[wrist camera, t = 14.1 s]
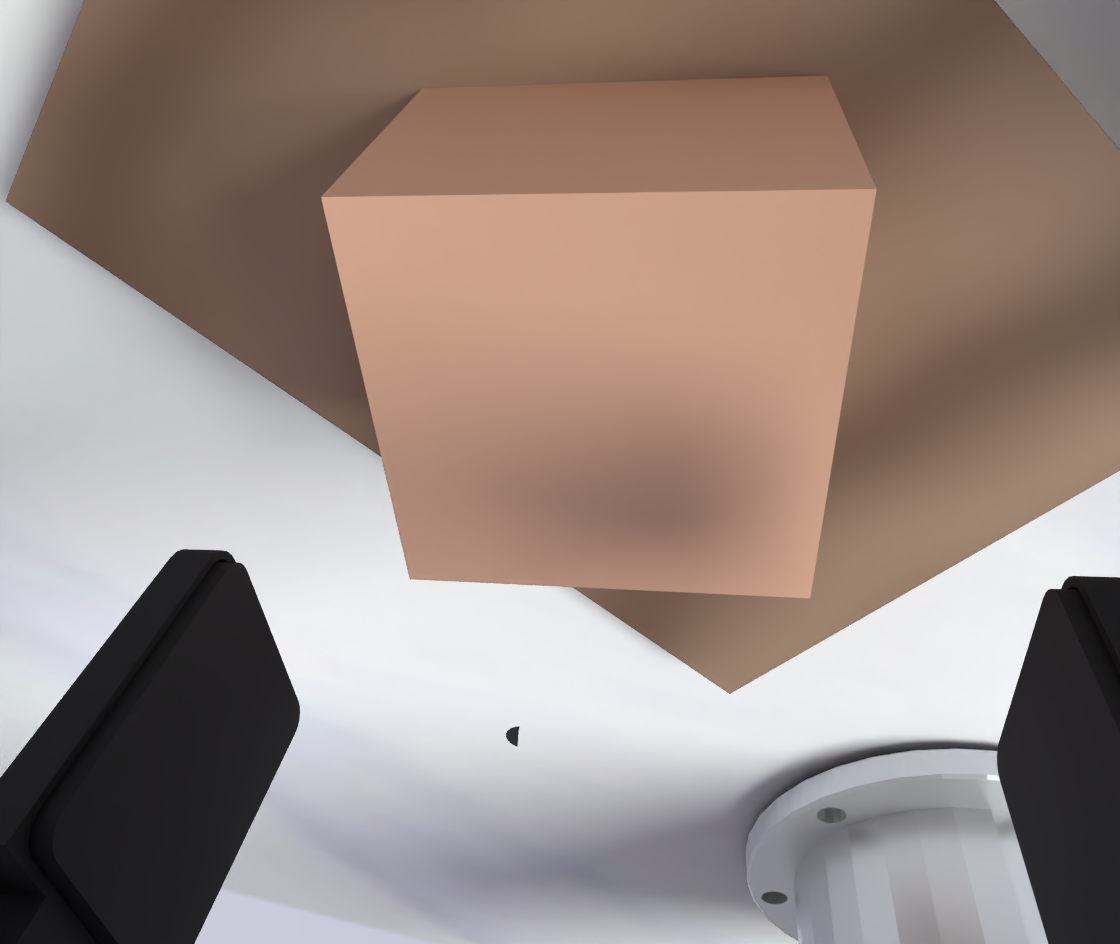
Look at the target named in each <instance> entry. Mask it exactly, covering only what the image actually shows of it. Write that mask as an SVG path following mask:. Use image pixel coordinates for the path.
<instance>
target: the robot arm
mask: <svg viewBox="0 0 1120 944" xmlns="http://www.w3.org/2000/svg"><path fill="white" fill-rule="evenodd" d="M299 717H300V706H299V702H298V699H297V696H296V694H295V691H294V689H293V686H292V684H291V681H290V679H289V676H288V674H287V671H286V669H285V666H284V663H283V661H282V658H281V656H280V653H279V651H278V648H277V646H276V643H275V641H274V638H273V636H272V633H271V630H270V628H269V625H268V623H267V620H266V618H265V615H264V613H263V610H262V608H261V605H260V603H259V600H258V597H257V595H256V592H255V590H254V587H253V585H252V582H251V580H250V577H249V575H248V572H247V570H246V568H245V566H244V565H242V564H241V563H237V562H236V561H235V560H234V558H233V556H232V555H231V554H230V553H228V552H227V551H220V550H187V549H183V550H180V551H177V552H176V553H175V554H174V555H173V556H172V557H171V558H170V559H169V560H168V562H167V563H166V564H165V565H164V567H163V568H162V569H161V571H160V572H159V573H158V575H157V576H156V577H155V578H154V580H153V581H152V582H151V584H150V585H149V586H148V587H147V589H146V590H145V591H144V593H143V594H142V595H141V597H140V598H139V599H138V600H137V602H136V603H135V604H134V606H133V607H132V608H131V609H130V611H129V612H128V613H127V615H126V616H125V617H124V619H123V620H122V621H121V622H120V624H119V625H118V626H117V628H116V629H115V630H114V631H113V633H112V634H111V635H110V637H109V638H108V639H107V641H106V642H105V643H104V644H103V646H102V647H101V648H100V650H99V651H98V652H97V653H96V655H95V656H94V657H93V659H92V660H91V661H90V663H89V664H88V665H87V666H86V668H85V669H84V670H83V672H82V673H81V674H80V675H79V677H78V678H77V679H76V681H75V682H74V683H73V685H72V686H71V687H70V688H69V690H68V691H67V692H66V694H65V695H64V696H63V697H62V699H61V700H60V701H59V703H58V704H57V705H56V707H55V708H54V709H53V710H52V712H51V713H50V714H49V716H48V717H47V718H46V719H45V721H44V722H43V723H42V725H41V726H40V727H39V729H38V730H37V731H36V732H35V734H34V735H33V736H32V738H31V739H30V740H29V741H28V743H27V744H26V745H25V747H24V748H23V749H22V751H21V752H20V753H19V754H18V756H17V757H16V758H15V760H14V761H13V762H12V763H11V765H10V766H9V767H8V769H7V770H6V771H5V773H4V774H3V775H2V776H1V778H0V944H194V943H195V941H196V939H197V937H198V934H199V932H200V930H201V928H202V926H203V924H204V922H205V920H206V918H207V916H208V914H209V912H210V910H211V908H212V905H213V903H214V901H215V899H216V897H217V895H218V893H219V891H220V889H221V887H222V885H223V883H224V880H225V878H226V876H227V874H228V872H229V870H230V868H231V866H232V864H233V862H234V860H235V857H236V855H237V853H238V851H239V849H240V847H241V845H242V843H243V841H244V839H245V837H246V835H247V832H248V830H249V828H250V826H251V824H252V822H253V820H254V818H255V816H256V814H257V812H258V810H259V807H260V805H261V803H262V801H263V799H264V797H265V795H266V793H267V791H268V789H269V787H270V785H271V782H272V780H273V778H274V776H275V774H276V772H277V770H278V768H279V766H280V764H281V762H282V760H283V757H284V755H285V753H286V751H287V749H288V747H289V745H290V743H291V741H292V739H293V737H294V735H295V732H296V730H297V727H298V723H299ZM745 852H746V868H747V884H748V888H749V891H750V894H751V897H752V899H753V901H754V902H755V903H756V905H757V906H758V907H759V909H760V910H761V911H762V912H763V914H764V915H765V916H766V917H767V918H768V919H769V920H770V921H771V922H773V923H774V924H775V925H776V926H777V927H779V928H780V929H781V930H782V931H783V932H785V933H786V934H787V935H789V936H791V937H793V938H794V939H796V940H798V942H799V944H1120V578H1118V577H1085V576H1072V577H1068V578H1067V579H1066V580H1065V582H1064V584H1063V586H1062V588H1061V589H1049V590H1048V591H1047V592H1046V593H1045V596H1044V598H1043V601H1042V604H1041V608H1040V611H1039V614H1038V617H1037V621H1036V624H1035V627H1034V630H1033V634H1032V637H1031V640H1030V643H1029V647H1028V650H1027V653H1026V656H1025V659H1024V663H1023V666H1022V669H1021V673H1020V676H1019V679H1018V682H1017V685H1016V689H1015V692H1014V695H1013V698H1012V702H1011V705H1010V708H1009V711H1008V715H1007V718H1006V721H1005V724H1004V728H1003V731H1002V734H1001V737H1000V741H999V744H998V749H997V751H993V750H977V749H961V748H951V749H929V750H912V751H905V752H899V753H892V754H886V755H879V756H873V757H869V758H866V759H862V760H859V761H855V762H851V763H848V764H844V765H840V766H837V767H834V768H832V769H830V770H827V771H825V772H823V773H820V774H818V775H816V776H813V777H811V778H808V779H806V780H804V781H803V782H801V783H800V784H798V785H796V786H795V787H793V788H792V789H790V790H788V791H787V792H785V793H784V794H782V795H781V796H779V797H778V798H777V799H776V800H775V801H774V802H773V803H772V804H771V805H770V806H769V807H767V808H766V809H765V810H764V811H763V812H762V813H761V814H760V816H759V817H758V819H757V821H756V822H755V824H754V826H753V827H752V829H751V831H750V833H749V836H748V841H747V846H746V851H745Z"/></svg>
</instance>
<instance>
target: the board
mask: <svg viewBox="0 0 1120 944" xmlns="http://www.w3.org/2000/svg"><path fill="white" fill-rule="evenodd" d="M823 75H827V76H828V79H829V81H830V83H831V85H832V88H833V90H834V92H835V95H836V97H837V99H838V102H839V104H840V106H841V108H842V111H843V113H844V115H845V118H846V120H847V122H848V124H849V127H850V129H851V131H852V134H853V136H854V138H855V141H856V143H857V145H858V147H859V150H860V152H861V154H862V157H863V159H864V161H865V163H866V166H867V168H868V170H869V173H870V175H871V177H872V179H873V182H874V184H875V186H876V189H877V190H876V196H875V202H874V208H873V215H872V221H871V227H870V233H869V239H868V245H867V252H866V258H865V264H864V270H863V276H862V282H861V289H860V295H859V301H858V307H857V313H856V319H855V326H854V332H853V338H852V344H851V350H850V356H849V363H848V369H847V375H846V381H845V387H844V393H843V399H842V406H841V412H840V418H839V424H838V430H837V436H836V443H835V449H834V455H833V461H832V467H831V473H830V480H829V486H828V492H827V498H826V504H825V510H824V517H823V523H822V529H821V535H820V541H819V547H818V553H817V560H816V566H815V572H814V578H813V584H812V590H811V597H810V598H791V597H770V596H749V595H728V594H708V593H687V592H666V591H646V590H625V589H604V588H584V587H573V588H575V589H576V590H578V591H579V592H581V593H582V594H584V595H585V596H587V597H588V598H589V599H591V600H592V601H594V602H595V603H597V604H598V605H600V606H601V607H603V608H604V609H606V610H607V611H609V612H610V613H612V614H613V615H614V616H616V617H617V618H619V619H620V620H622V621H623V622H625V623H626V624H628V625H629V626H631V627H632V628H634V629H635V630H637V631H638V632H639V633H641V634H642V635H644V636H645V637H647V638H648V639H650V640H651V641H653V642H654V643H656V644H657V645H659V646H660V647H662V648H663V649H664V650H666V651H667V652H669V653H670V654H672V655H673V656H675V657H676V658H678V659H679V660H681V661H682V662H684V663H685V664H686V665H688V666H689V667H691V668H692V669H694V670H695V671H697V672H698V673H700V674H701V675H703V676H704V677H706V678H707V679H709V680H710V681H711V682H713V683H714V684H716V685H717V686H719V687H720V688H722V689H723V690H725V691H726V692H728V693H729V694H730V693H732V692H734V691H736V690H737V689H739V688H741V687H742V686H744V685H746V684H748V683H749V682H751V681H753V680H755V679H756V678H758V677H760V676H762V675H763V674H765V673H767V672H769V671H770V670H772V669H774V668H776V667H777V666H779V665H781V664H783V663H784V662H786V661H788V660H790V659H791V658H793V657H795V656H797V655H798V654H800V653H802V652H804V651H805V650H807V649H809V648H811V647H812V646H814V645H816V644H818V643H819V642H821V641H823V640H825V639H826V638H828V637H830V636H832V635H833V634H835V633H837V632H839V631H840V630H842V629H844V628H846V627H847V626H849V625H851V624H853V623H854V622H856V621H858V620H860V619H861V618H863V617H865V616H867V615H868V614H870V613H872V612H874V611H875V610H877V609H879V608H881V607H882V606H884V605H886V604H888V603H889V602H891V601H893V600H894V599H896V598H898V597H900V596H901V595H903V594H905V593H907V592H908V591H910V590H912V589H914V588H915V587H917V586H919V585H921V584H922V583H924V582H926V581H928V580H929V579H931V578H933V577H935V576H936V575H938V574H940V573H942V572H943V571H945V570H947V569H949V568H950V567H952V566H954V565H956V564H957V563H959V562H961V561H963V560H964V559H966V558H968V557H970V556H971V555H973V554H975V553H977V552H978V551H980V550H982V549H984V548H985V547H987V546H989V545H991V544H992V543H994V542H996V541H998V540H999V539H1001V538H1003V537H1005V536H1006V535H1008V534H1010V533H1012V532H1013V531H1015V530H1017V529H1019V528H1020V527H1022V526H1024V525H1026V524H1027V523H1029V522H1031V521H1033V520H1034V519H1036V518H1038V517H1039V516H1041V515H1043V514H1045V513H1046V512H1048V511H1050V510H1052V509H1053V508H1055V507H1057V506H1059V505H1060V504H1062V503H1064V502H1066V501H1067V500H1069V499H1071V498H1073V497H1074V496H1076V495H1078V494H1080V493H1081V492H1083V491H1085V490H1087V489H1088V488H1090V487H1092V486H1094V485H1095V484H1097V483H1099V482H1101V481H1102V480H1104V479H1106V478H1108V477H1109V476H1111V475H1113V474H1115V473H1116V472H1118V471H1120V150H1119V149H1118V148H1117V147H1116V145H1115V144H1114V143H1113V142H1112V141H1111V139H1110V138H1109V137H1108V136H1107V135H1106V133H1105V132H1104V131H1103V130H1102V129H1101V127H1100V126H1099V125H1098V124H1097V123H1096V121H1095V120H1094V119H1093V118H1092V117H1091V115H1090V114H1089V113H1088V112H1087V111H1086V109H1085V108H1084V107H1083V106H1082V105H1081V103H1080V102H1079V101H1078V100H1077V99H1076V98H1075V96H1074V95H1073V94H1072V93H1071V92H1070V90H1069V89H1068V88H1067V87H1066V86H1065V84H1064V83H1063V82H1062V81H1061V80H1060V78H1059V77H1058V76H1057V75H1056V74H1055V72H1054V71H1053V70H1052V69H1051V68H1050V66H1049V65H1048V64H1047V63H1046V62H1045V60H1044V59H1043V58H1042V57H1041V56H1040V54H1039V53H1038V52H1037V51H1036V50H1035V48H1034V47H1033V46H1032V45H1031V44H1030V42H1029V41H1028V40H1027V39H1026V38H1025V36H1024V35H1023V34H1022V33H1021V32H1020V30H1019V29H1018V28H1017V27H1016V26H1015V24H1014V23H1013V22H1012V21H1011V20H1010V18H1009V17H1008V16H1007V15H1006V14H1005V12H1004V11H1003V10H1002V9H1001V8H1000V6H999V5H998V4H997V3H996V2H995V0H85V1H84V3H83V6H82V8H81V11H80V13H79V16H78V19H77V21H76V24H75V26H74V29H73V31H72V34H71V36H70V39H69V41H68V44H67V47H66V49H65V52H64V54H63V57H62V59H61V62H60V64H59V67H58V69H57V72H56V74H55V77H54V80H53V82H52V85H51V87H50V90H49V92H48V95H47V97H46V100H45V102H44V105H43V108H42V110H41V113H40V115H39V118H38V120H37V123H36V125H35V128H34V130H33V133H32V135H31V138H30V141H29V143H28V146H27V148H26V151H25V153H24V156H23V158H22V161H21V163H20V166H19V169H18V171H17V174H16V176H15V179H14V181H13V184H12V186H11V189H10V191H9V194H8V196H7V199H6V202H8V203H9V204H10V205H12V206H13V207H15V208H16V209H18V210H19V211H21V212H22V213H24V214H25V215H27V216H28V217H30V218H31V219H33V220H34V221H35V222H37V223H38V224H40V225H41V226H43V227H44V228H46V229H47V230H49V231H50V232H52V233H53V234H55V235H56V236H58V237H59V238H60V239H62V240H63V241H65V242H66V243H68V244H69V245H71V246H72V247H74V248H75V249H77V250H78V251H80V252H81V253H82V254H84V255H85V256H87V257H88V258H90V259H91V260H93V261H94V262H96V263H97V264H99V265H100V266H102V267H103V268H105V269H106V270H107V271H109V272H110V273H112V274H113V275H115V276H116V277H118V278H119V279H121V280H122V281H124V282H125V283H127V284H128V285H130V286H131V287H132V288H134V289H135V290H137V291H138V292H140V293H141V294H143V295H144V296H146V297H147V298H149V299H150V300H152V301H153V302H155V303H156V304H157V305H159V306H160V307H162V308H163V309H165V310H166V311H168V312H169V313H171V314H172V315H174V316H175V317H177V318H178V319H179V320H181V321H182V322H184V323H185V324H187V325H188V326H190V327H191V328H193V329H194V330H196V331H197V332H199V333H200V334H202V335H203V336H204V337H206V338H207V339H209V340H210V341H212V342H213V343H215V344H216V345H218V346H219V347H221V348H222V349H224V350H225V351H227V352H228V353H229V354H231V355H232V356H234V357H235V358H237V359H238V360H240V361H241V362H243V363H244V364H246V365H247V366H249V367H250V368H251V369H253V370H254V371H256V372H257V373H259V374H260V375H262V376H263V377H265V378H266V379H268V380H269V381H271V382H272V383H274V384H275V385H276V386H278V387H279V388H281V389H282V390H284V391H285V392H287V393H288V394H290V395H291V396H293V397H294V398H296V399H297V400H299V401H300V402H301V403H303V404H304V405H306V406H307V407H309V408H310V409H312V410H313V411H315V412H316V413H318V414H319V415H321V416H322V417H324V418H325V419H326V420H328V421H329V422H331V423H332V424H334V425H335V426H337V427H338V428H340V429H341V430H343V431H344V432H346V433H347V434H348V435H350V436H351V437H353V438H354V439H356V440H357V441H359V442H360V443H362V444H363V445H365V446H366V447H368V448H369V449H371V450H372V451H373V452H375V453H376V454H378V455H379V456H381V453H380V449H379V444H378V440H377V436H376V431H375V427H374V423H373V418H372V414H371V410H370V406H369V401H368V397H367V393H366V388H365V384H364V380H363V375H362V371H361V367H360V363H359V358H358V354H357V350H356V345H355V341H354V337H353V332H352V328H351V324H350V320H349V315H348V311H347V307H346V302H345V298H344V294H343V290H342V285H341V281H340V277H339V272H338V268H337V264H336V259H335V255H334V251H333V247H332V242H331V238H330V234H329V229H328V225H327V221H326V216H325V212H324V208H323V204H322V199H321V197H322V195H323V194H324V193H325V192H326V191H327V190H328V189H329V188H330V187H331V186H332V185H333V184H334V183H335V182H336V180H337V179H338V178H339V177H340V176H341V175H342V174H343V173H344V172H345V171H346V170H347V169H348V168H349V166H350V165H351V164H352V163H353V162H354V161H355V160H356V159H357V158H358V157H359V156H360V155H361V154H362V153H363V151H364V150H365V149H366V148H367V147H368V146H369V145H370V144H371V143H372V142H373V141H374V140H375V139H376V138H377V136H378V135H379V134H380V133H381V132H382V131H383V130H384V129H385V128H386V127H387V126H388V125H389V124H390V123H391V121H392V120H393V119H394V118H395V117H396V116H397V115H398V114H399V113H400V112H401V111H402V110H403V109H404V107H405V106H406V105H407V104H408V103H409V102H410V101H411V100H412V99H413V98H414V97H415V96H416V95H417V94H418V92H419V91H420V90H421V89H422V88H449V87H480V86H511V85H543V84H574V83H605V82H636V81H667V80H699V79H730V78H761V77H792V76H823Z"/></svg>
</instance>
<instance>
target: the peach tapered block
mask: <svg viewBox="0 0 1120 944" xmlns="http://www.w3.org/2000/svg"><path fill="white" fill-rule="evenodd" d="M876 190H877V189H876V186H875V184H874V182H873V179H872V177H871V175H870V173H869V170H868V168H867V166H866V163H865V161H864V159H863V157H862V154H861V152H860V150H859V147H858V145H857V143H856V141H855V138H854V136H853V134H852V131H851V129H850V127H849V124H848V122H847V120H846V118H845V115H844V113H843V111H842V108H841V106H840V104H839V102H838V99H837V97H836V95H835V92H834V90H833V88H832V85H831V83H830V81H829V79H828V76H827V75H823V76H792V77H761V78H730V79H699V80H667V81H636V82H605V83H574V84H543V85H511V86H480V87H449V88H422V89H421V90H420V91H419V92H418V94H417V95H416V96H415V97H414V98H413V99H412V100H411V101H410V102H409V103H408V104H407V105H406V106H405V107H404V109H403V110H402V111H401V112H400V113H399V114H398V115H397V116H396V117H395V118H394V119H393V120H392V121H391V123H390V124H389V125H388V126H387V127H386V128H385V129H384V130H383V131H382V132H381V133H380V134H379V135H378V136H377V138H376V139H375V140H374V141H373V142H372V143H371V144H370V145H369V146H368V147H367V148H366V149H365V150H364V151H363V153H362V154H361V155H360V156H359V157H358V158H357V159H356V160H355V161H354V162H353V163H352V164H351V165H350V166H349V168H348V169H347V170H346V171H345V172H344V173H343V174H342V175H341V176H340V177H339V178H338V179H337V180H336V182H335V183H334V184H333V185H332V186H331V187H330V188H329V189H328V190H327V191H326V192H325V193H324V194H323V195H322V197H321V199H322V204H323V208H324V212H325V216H326V221H327V225H328V229H329V234H330V238H331V242H332V247H333V251H334V255H335V259H336V264H337V268H338V272H339V277H340V281H341V285H342V290H343V294H344V298H345V302H346V307H347V311H348V315H349V320H350V324H351V328H352V332H353V337H354V341H355V345H356V350H357V354H358V358H359V363H360V367H361V371H362V375H363V380H364V384H365V388H366V393H367V397H368V401H369V406H370V410H371V414H372V418H373V423H374V427H375V431H376V436H377V440H378V444H379V449H380V453H381V457H382V461H383V466H384V470H385V474H386V479H387V483H388V487H389V492H390V496H391V500H392V504H393V509H394V513H395V517H396V522H397V526H398V530H399V535H400V539H401V543H402V547H403V552H404V556H405V560H406V565H407V569H408V573H409V578H410V579H418V580H439V581H459V582H480V583H501V584H521V585H542V586H563V587H584V588H604V589H625V590H646V591H666V592H687V593H708V594H728V595H749V596H770V597H791V598H810V597H811V590H812V584H813V578H814V572H815V566H816V560H817V553H818V547H819V541H820V535H821V529H822V523H823V517H824V510H825V504H826V498H827V492H828V486H829V480H830V473H831V467H832V461H833V455H834V449H835V443H836V436H837V430H838V424H839V418H840V412H841V406H842V399H843V393H844V387H845V381H846V375H847V369H848V363H849V356H850V350H851V344H852V338H853V332H854V326H855V319H856V313H857V307H858V301H859V295H860V289H861V282H862V276H863V270H864V264H865V258H866V252H867V245H868V239H869V233H870V227H871V221H872V215H873V208H874V202H875V196H876Z"/></svg>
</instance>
